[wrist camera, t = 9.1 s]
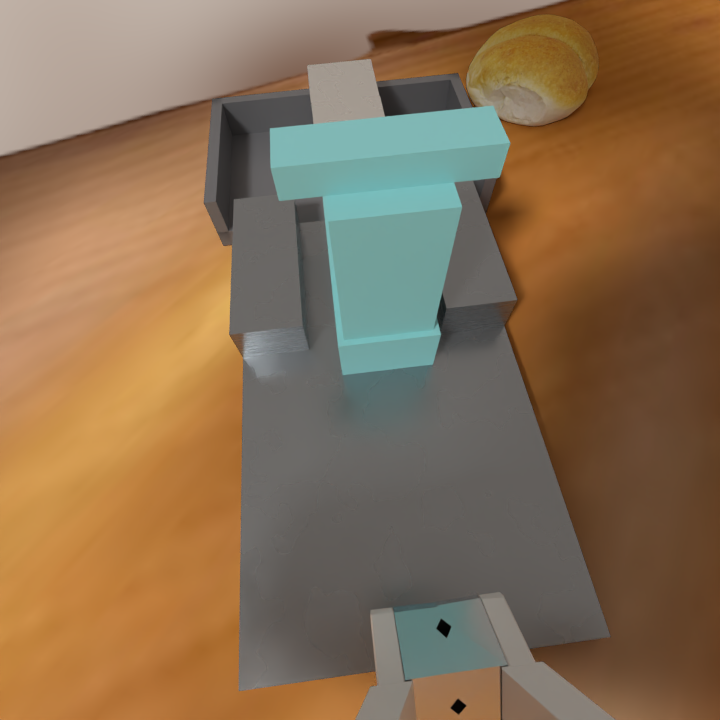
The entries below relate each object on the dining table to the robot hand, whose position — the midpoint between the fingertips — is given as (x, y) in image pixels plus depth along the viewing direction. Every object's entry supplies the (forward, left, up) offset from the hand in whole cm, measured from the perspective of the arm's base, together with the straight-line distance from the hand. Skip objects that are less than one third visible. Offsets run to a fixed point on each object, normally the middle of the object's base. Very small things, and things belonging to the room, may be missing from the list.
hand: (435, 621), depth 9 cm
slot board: (0, +8, -6) cm, 10 cm away
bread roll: (+14, +30, -6) cm, 34 cm away
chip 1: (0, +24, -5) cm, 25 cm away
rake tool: (0, +14, -5) cm, 15 cm away
